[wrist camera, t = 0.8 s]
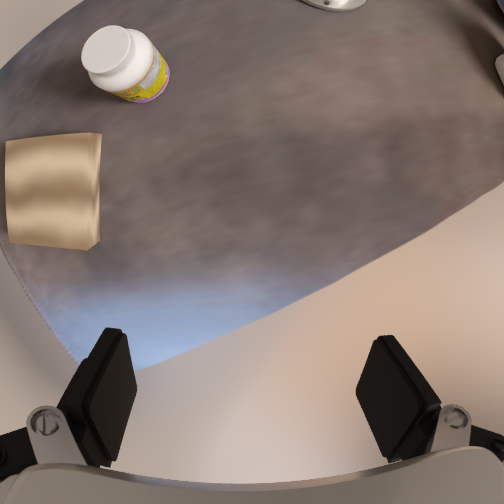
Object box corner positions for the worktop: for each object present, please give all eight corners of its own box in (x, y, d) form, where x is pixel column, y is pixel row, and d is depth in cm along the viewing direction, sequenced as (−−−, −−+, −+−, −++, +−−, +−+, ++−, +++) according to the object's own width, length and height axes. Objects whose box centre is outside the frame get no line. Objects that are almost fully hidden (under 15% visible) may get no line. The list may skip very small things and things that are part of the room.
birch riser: (22, 140, 30) (6, 141, 26) (101, 133, 31) (88, 132, 28) (24, 234, 34) (9, 242, 31) (99, 240, 36) (87, 250, 32)
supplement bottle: (110, 90, 30) (58, 69, 18) (139, 47, 28) (101, 7, 16) (150, 113, 31) (110, 95, 19) (181, 68, 30) (157, 29, 18)
